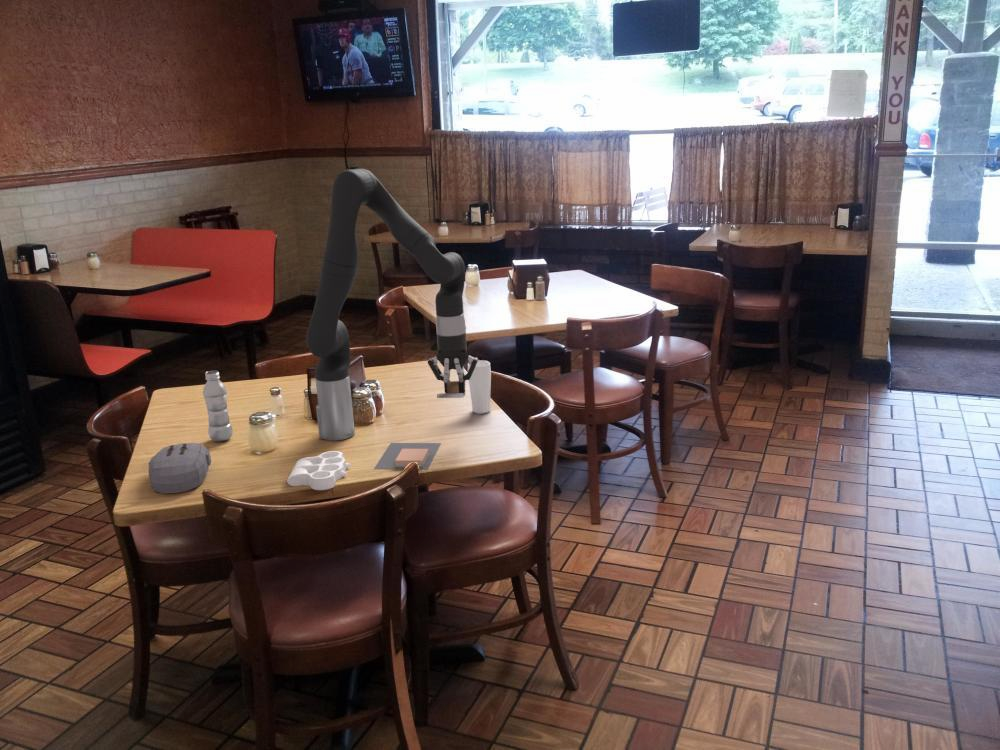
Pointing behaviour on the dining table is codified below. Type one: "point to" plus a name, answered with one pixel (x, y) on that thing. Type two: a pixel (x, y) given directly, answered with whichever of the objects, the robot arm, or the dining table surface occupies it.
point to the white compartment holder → (319, 471)
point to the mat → (395, 448)
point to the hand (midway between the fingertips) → (455, 394)
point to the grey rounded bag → (179, 467)
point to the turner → (452, 391)
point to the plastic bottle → (217, 407)
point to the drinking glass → (480, 387)
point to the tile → (412, 457)
